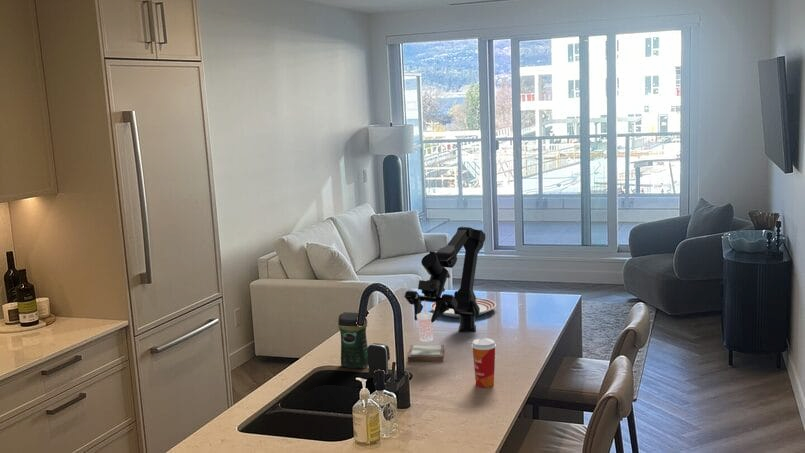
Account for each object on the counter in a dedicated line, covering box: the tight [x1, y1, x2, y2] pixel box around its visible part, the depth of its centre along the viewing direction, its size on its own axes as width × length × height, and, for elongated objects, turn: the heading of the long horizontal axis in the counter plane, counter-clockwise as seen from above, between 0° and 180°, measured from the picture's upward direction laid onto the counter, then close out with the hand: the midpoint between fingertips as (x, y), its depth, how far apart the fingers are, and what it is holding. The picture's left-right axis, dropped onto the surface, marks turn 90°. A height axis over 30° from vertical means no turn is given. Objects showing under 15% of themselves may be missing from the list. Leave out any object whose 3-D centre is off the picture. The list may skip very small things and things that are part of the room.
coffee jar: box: [337, 311, 369, 369], centre depth 267 cm, size 10×8×19 cm
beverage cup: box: [417, 301, 434, 343], centre depth 272 cm, size 6×6×14 cm
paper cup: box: [471, 337, 497, 389], centre depth 244 cm, size 8×8×14 cm
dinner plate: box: [429, 297, 497, 318], centre depth 326 cm, size 27×27×3 cm
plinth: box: [407, 344, 445, 363], centre depth 274 cm, size 12×12×2 cm
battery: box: [367, 342, 391, 379], centre depth 254 cm, size 7×4×11 cm, turn 63°
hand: (423, 321), depth 270 cm, fingers closed on beverage cup, 6 cm apart
